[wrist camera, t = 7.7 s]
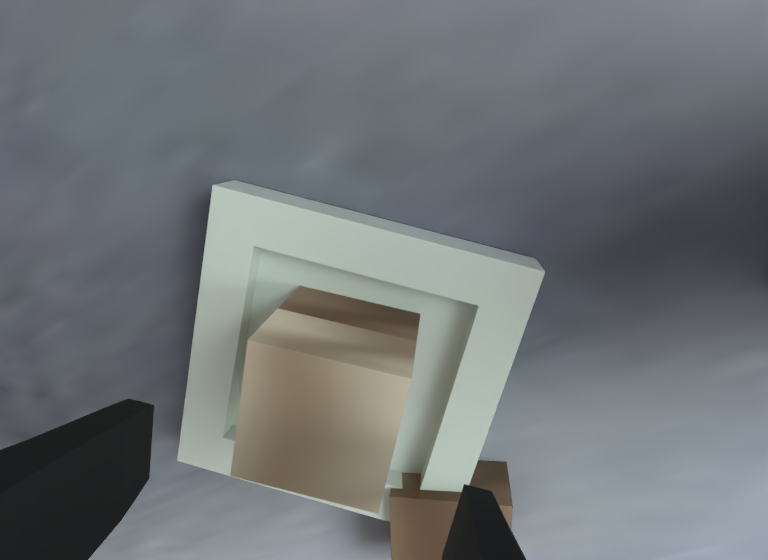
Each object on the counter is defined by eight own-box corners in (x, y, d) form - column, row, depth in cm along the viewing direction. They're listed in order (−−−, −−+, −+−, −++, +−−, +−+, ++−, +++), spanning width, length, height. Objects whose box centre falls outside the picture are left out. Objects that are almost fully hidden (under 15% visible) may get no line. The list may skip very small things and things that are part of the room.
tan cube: (420, 313, 16) (411, 379, 11) (394, 419, 17) (378, 514, 13) (299, 285, 16) (248, 339, 12) (282, 391, 17) (230, 475, 13)
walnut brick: (506, 461, 18) (512, 506, 16) (501, 547, 19) (506, 598, 17) (397, 453, 18) (389, 496, 16) (399, 537, 20) (392, 586, 18)
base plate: (535, 258, 16) (545, 271, 14) (449, 506, 19) (449, 539, 17) (234, 180, 16) (212, 184, 14) (198, 434, 19) (177, 460, 17)
